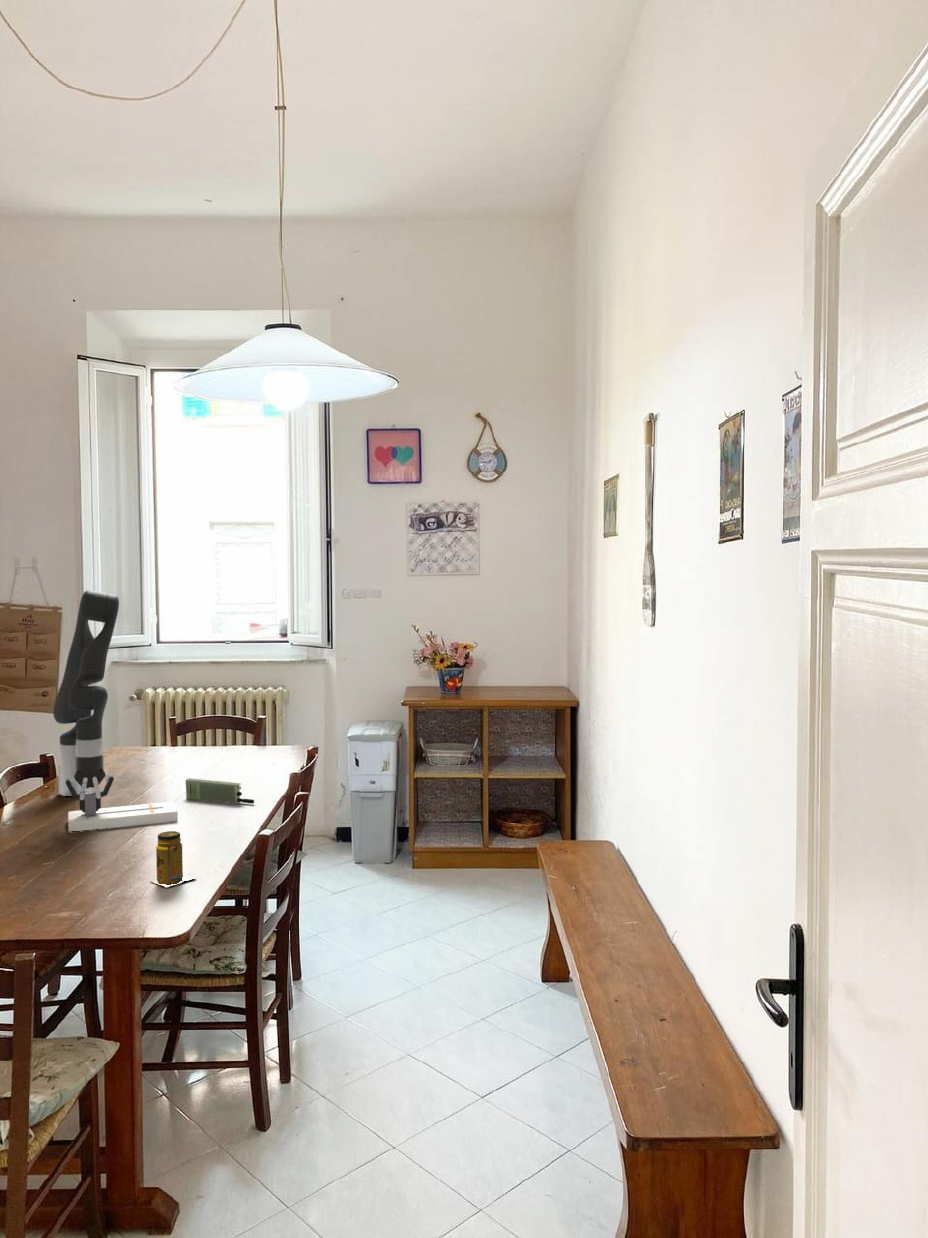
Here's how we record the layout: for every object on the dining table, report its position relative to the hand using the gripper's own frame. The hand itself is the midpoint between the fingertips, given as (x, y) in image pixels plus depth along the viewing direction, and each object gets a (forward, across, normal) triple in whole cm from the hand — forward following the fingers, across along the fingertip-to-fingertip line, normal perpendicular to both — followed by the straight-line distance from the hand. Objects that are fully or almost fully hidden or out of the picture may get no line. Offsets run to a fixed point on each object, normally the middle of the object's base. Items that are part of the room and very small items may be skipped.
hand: (90, 810), depth 266 cm
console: (+4, +9, 0) cm, 10 cm away
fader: (+1, 0, 0) cm, 1 cm away
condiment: (+4, +18, -58) cm, 61 cm away
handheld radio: (+5, +39, +12) cm, 41 cm away
